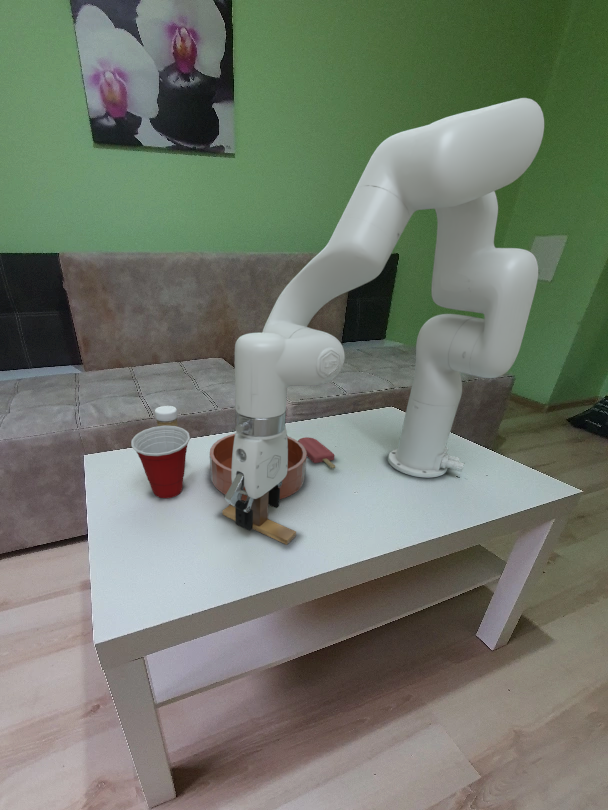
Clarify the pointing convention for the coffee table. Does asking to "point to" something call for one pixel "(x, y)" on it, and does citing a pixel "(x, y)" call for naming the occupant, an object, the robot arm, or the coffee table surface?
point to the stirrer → (264, 520)
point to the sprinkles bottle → (166, 416)
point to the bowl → (223, 481)
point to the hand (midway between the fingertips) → (258, 514)
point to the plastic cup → (163, 458)
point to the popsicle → (317, 451)
